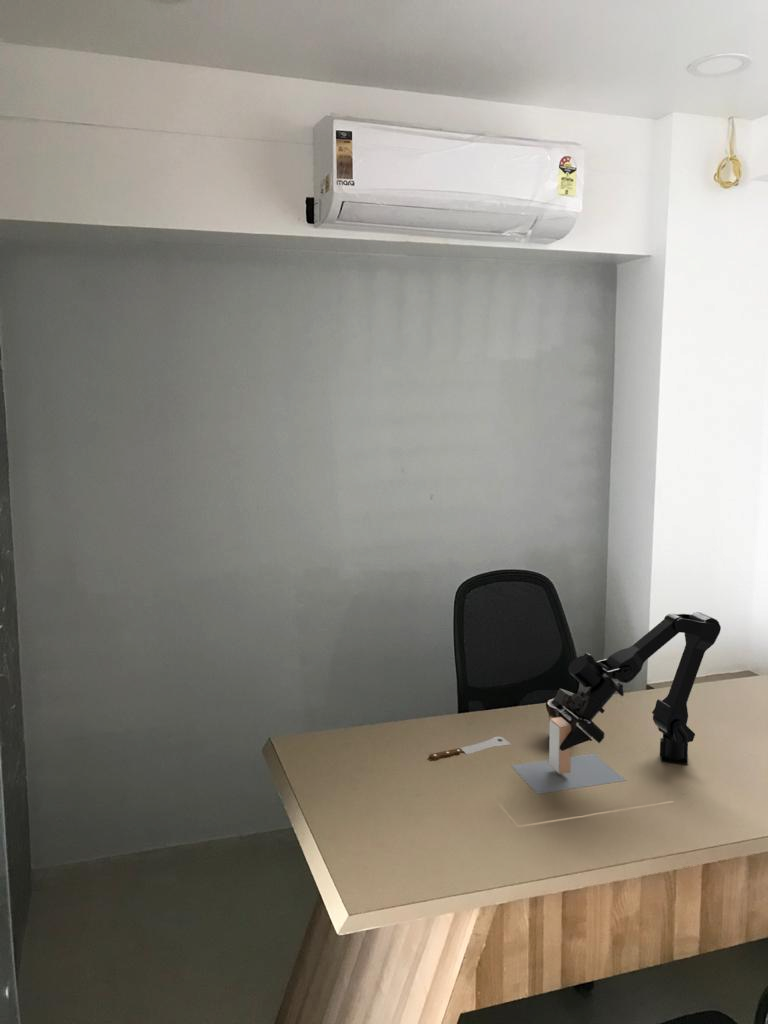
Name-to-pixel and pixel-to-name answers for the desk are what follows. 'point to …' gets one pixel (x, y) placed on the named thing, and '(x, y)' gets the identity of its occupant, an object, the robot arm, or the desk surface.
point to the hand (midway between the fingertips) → (555, 744)
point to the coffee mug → (552, 711)
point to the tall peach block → (557, 736)
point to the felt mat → (567, 774)
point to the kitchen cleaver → (470, 748)
